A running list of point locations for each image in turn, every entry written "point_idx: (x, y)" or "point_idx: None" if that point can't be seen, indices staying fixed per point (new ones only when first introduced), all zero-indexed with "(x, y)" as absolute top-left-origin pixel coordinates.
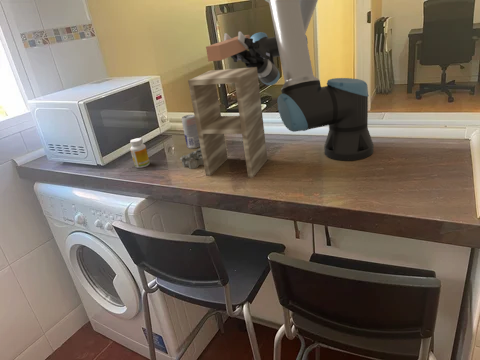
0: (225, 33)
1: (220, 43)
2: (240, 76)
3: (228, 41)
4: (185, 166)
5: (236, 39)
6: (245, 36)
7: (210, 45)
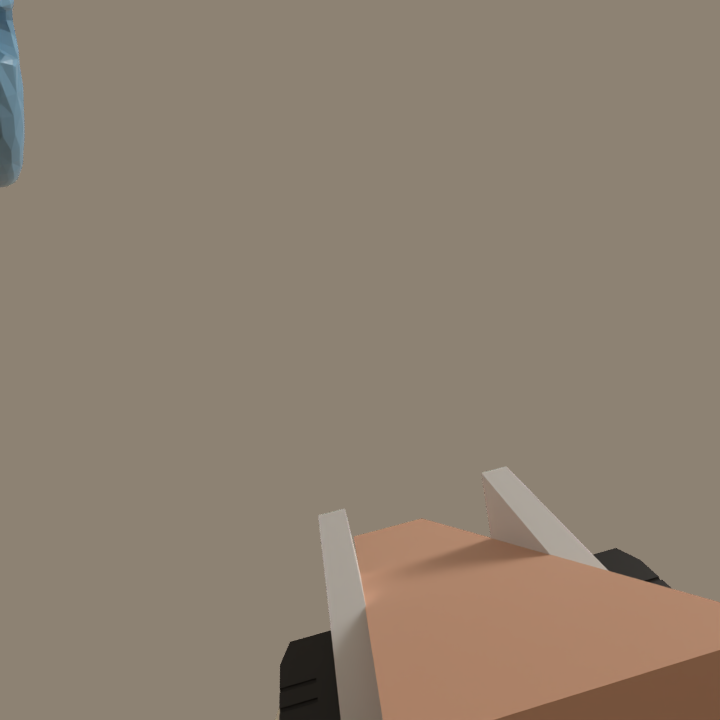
0: (493, 471)
1: (390, 535)
2: (277, 712)
3: (373, 547)
4: None
5: (360, 570)
6: (370, 640)
7: (420, 522)
